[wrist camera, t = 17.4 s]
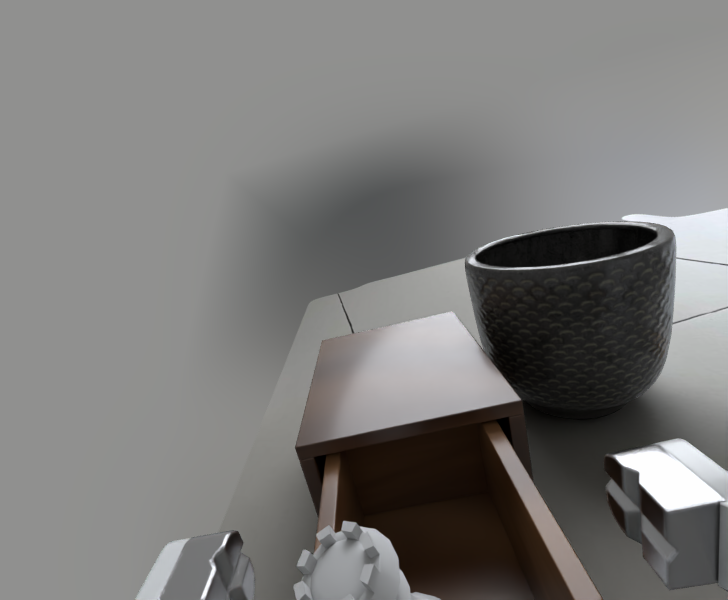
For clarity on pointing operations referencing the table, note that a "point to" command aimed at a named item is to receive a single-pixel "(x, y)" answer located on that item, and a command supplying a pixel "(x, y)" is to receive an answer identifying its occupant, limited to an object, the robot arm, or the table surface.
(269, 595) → the table surface
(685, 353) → the table surface
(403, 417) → the cabinet
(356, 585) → the rook chess piece
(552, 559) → the drawer
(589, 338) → the planter
